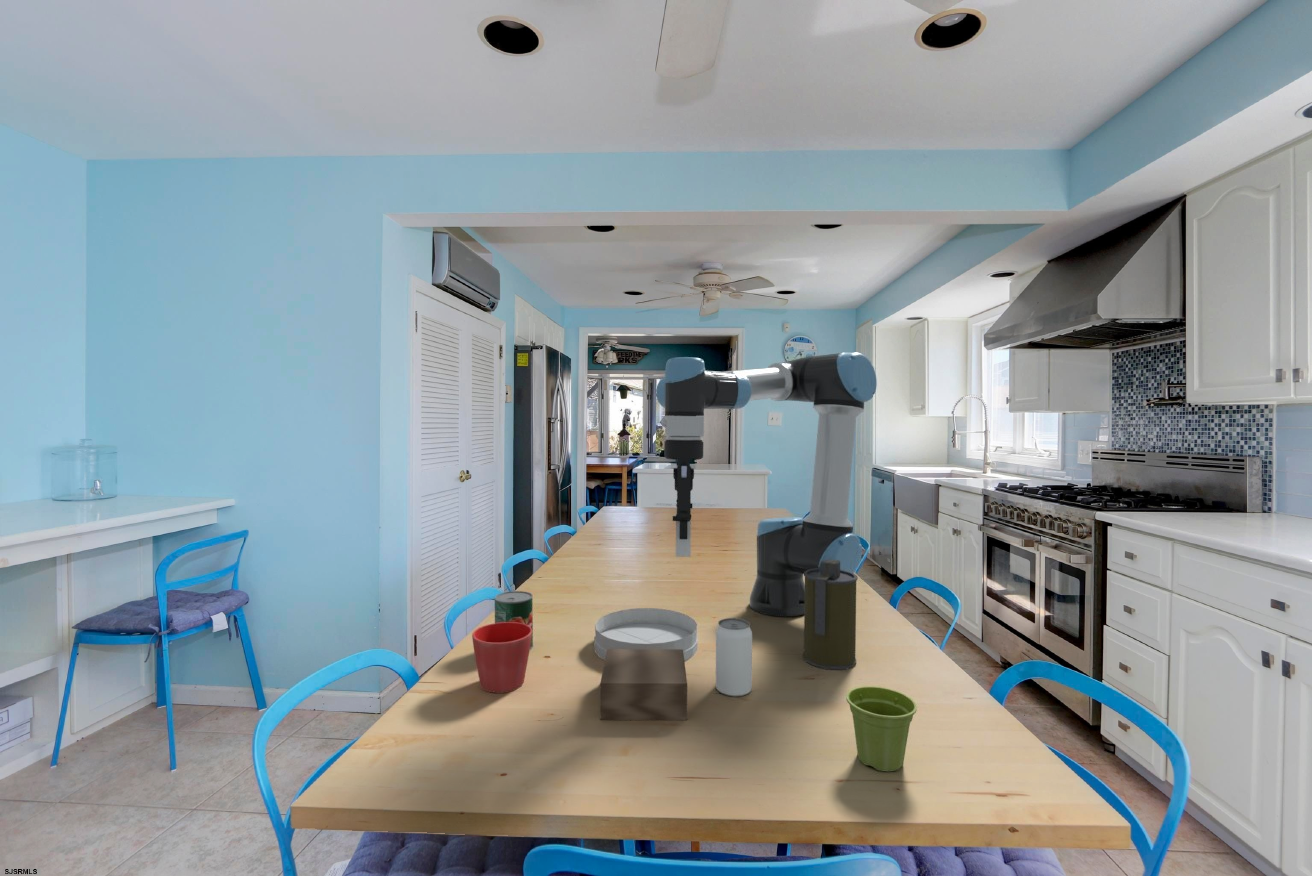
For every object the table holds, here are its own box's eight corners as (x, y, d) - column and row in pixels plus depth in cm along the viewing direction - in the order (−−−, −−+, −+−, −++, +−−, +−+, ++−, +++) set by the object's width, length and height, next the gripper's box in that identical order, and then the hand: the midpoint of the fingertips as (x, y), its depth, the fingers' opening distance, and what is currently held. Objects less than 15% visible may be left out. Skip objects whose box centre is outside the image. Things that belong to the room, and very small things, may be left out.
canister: (813, 645, 127) (814, 553, 127) (862, 657, 121) (864, 560, 121) (793, 662, 118) (795, 563, 118) (846, 676, 112) (847, 571, 112)
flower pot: (543, 675, 112) (543, 624, 112) (511, 701, 102) (511, 646, 101) (495, 667, 116) (495, 618, 115) (459, 692, 105) (459, 638, 105)
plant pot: (835, 743, 89) (836, 686, 89) (895, 740, 90) (896, 684, 90) (862, 781, 80) (863, 718, 80) (929, 778, 81) (930, 715, 80)
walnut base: (682, 681, 110) (683, 649, 110) (687, 720, 96) (687, 683, 96) (607, 681, 110) (607, 649, 110) (600, 719, 96) (600, 683, 96)
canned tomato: (505, 639, 130) (504, 589, 130) (538, 642, 129) (538, 592, 128) (487, 653, 123) (487, 600, 122) (523, 656, 121) (523, 603, 121)
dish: (719, 647, 127) (719, 624, 127) (647, 680, 111) (647, 653, 111) (644, 622, 142) (644, 601, 142) (572, 648, 126) (572, 624, 126)
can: (750, 682, 110) (751, 617, 109) (752, 698, 103) (753, 630, 103) (715, 680, 110) (715, 616, 110) (715, 696, 104) (716, 628, 103)
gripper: (665, 436, 127) (664, 535, 127) (662, 440, 102) (661, 563, 102) (701, 436, 126) (699, 536, 127) (706, 441, 101) (705, 564, 102)
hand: (682, 548), depth 115 cm, fingers open, 13 cm apart
